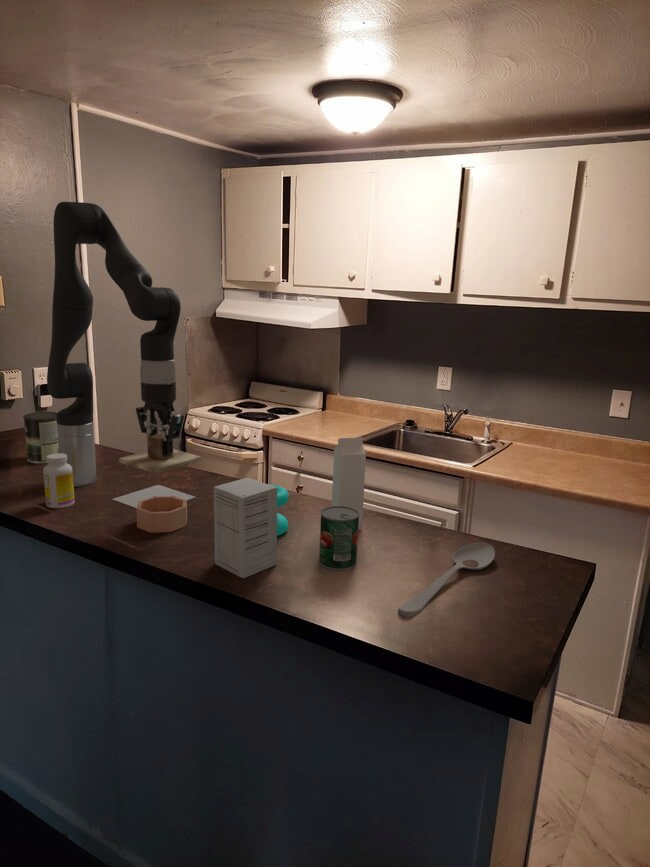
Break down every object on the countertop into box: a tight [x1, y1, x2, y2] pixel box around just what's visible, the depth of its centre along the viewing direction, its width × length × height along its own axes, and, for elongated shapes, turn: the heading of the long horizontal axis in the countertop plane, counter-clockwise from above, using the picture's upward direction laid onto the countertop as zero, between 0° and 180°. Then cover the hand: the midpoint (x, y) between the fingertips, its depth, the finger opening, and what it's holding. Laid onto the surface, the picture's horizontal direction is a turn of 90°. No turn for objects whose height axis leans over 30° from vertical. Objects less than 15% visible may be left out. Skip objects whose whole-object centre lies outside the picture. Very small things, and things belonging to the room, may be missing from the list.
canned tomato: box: [318, 505, 359, 571], centre depth 124 cm, size 8×8×11 cm
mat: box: [112, 484, 196, 509], centre depth 156 cm, size 15×15×1 cm
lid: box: [118, 432, 203, 475], centre depth 136 cm, size 13×13×6 cm
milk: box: [331, 436, 367, 531], centre depth 141 cm, size 6×6×22 cm
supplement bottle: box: [42, 453, 76, 509], centre depth 149 cm, size 7×7×13 cm
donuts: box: [270, 484, 290, 537], centre depth 138 cm, size 10×10×10 cm
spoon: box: [397, 542, 496, 618], centre depth 119 cm, size 35×8×3 cm, turn 141°
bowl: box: [135, 496, 188, 534], centre depth 140 cm, size 11×11×5 cm
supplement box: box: [213, 477, 278, 579], centre depth 120 cm, size 10×9×17 cm
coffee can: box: [22, 411, 59, 465], centre depth 185 cm, size 10×10×14 cm
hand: (160, 453), depth 137 cm, fingers closed on lid, 4 cm apart
